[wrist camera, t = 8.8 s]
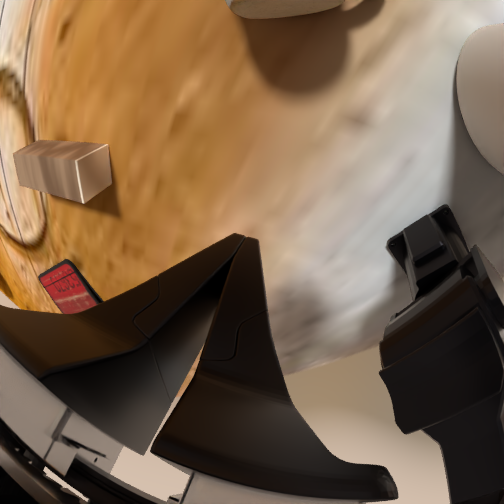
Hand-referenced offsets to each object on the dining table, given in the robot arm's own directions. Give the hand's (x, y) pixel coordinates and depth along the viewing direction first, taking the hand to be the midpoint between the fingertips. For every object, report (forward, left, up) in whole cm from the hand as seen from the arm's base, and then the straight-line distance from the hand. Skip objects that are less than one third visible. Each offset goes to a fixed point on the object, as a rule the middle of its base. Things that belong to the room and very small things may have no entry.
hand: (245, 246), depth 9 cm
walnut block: (+12, +14, -11) cm, 22 cm away
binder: (+9, +49, -14) cm, 52 cm away
